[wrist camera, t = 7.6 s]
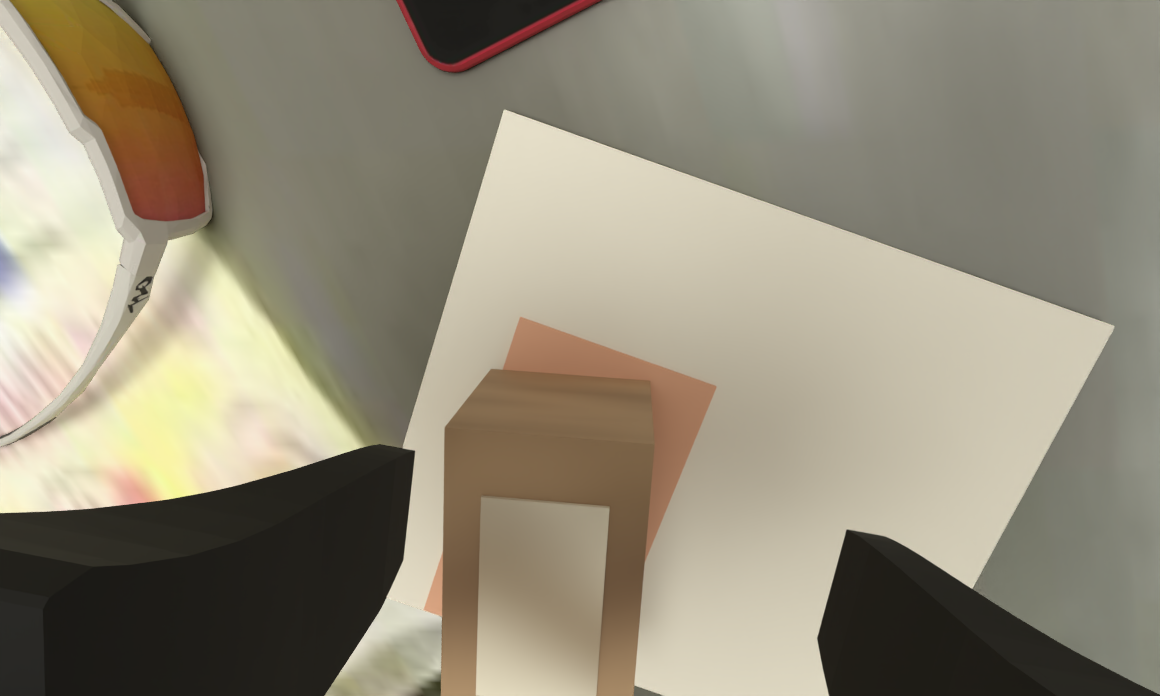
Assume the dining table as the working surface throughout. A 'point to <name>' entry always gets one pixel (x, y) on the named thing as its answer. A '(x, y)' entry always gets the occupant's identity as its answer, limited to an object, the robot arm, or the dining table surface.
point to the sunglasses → (115, 148)
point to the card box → (545, 535)
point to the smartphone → (479, 26)
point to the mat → (746, 394)
